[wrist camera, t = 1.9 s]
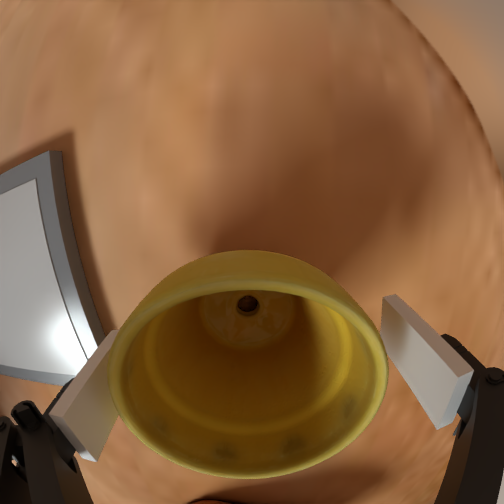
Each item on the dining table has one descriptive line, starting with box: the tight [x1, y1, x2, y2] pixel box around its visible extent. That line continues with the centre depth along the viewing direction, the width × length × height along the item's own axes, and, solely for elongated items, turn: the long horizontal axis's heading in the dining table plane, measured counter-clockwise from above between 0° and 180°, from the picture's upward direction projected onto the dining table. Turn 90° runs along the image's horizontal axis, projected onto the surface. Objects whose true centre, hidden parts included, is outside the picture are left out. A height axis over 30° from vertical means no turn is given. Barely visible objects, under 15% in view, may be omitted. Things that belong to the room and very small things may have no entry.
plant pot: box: [107, 250, 389, 479], centre depth 13 cm, size 10×10×10 cm
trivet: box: [0, 150, 106, 386], centre depth 17 cm, size 18×18×2 cm
